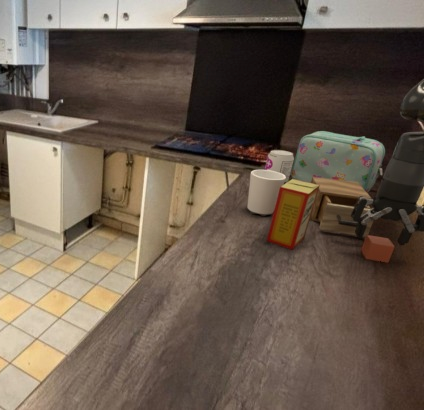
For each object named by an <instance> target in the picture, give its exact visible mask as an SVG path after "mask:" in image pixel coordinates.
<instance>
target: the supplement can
mask: <svg viewBox="0 0 424 410" xmlns="http://www.w3.org/2000/svg"><path fill="white" fill-rule="evenodd" d="M265 161H266V162H265V165H264V166H265V167H264V170H271V171H275V172H279V173H281V174H283V175H285V176H286V179H285V182H284V184H286V183H287V182H289V181H290V175H291V173H292V169H293V165H294V161H295V157H294V153H293V152H291V151H287V150H281V149H272V150H270V152H269V153H268V154H267V157H266V160H265Z"/></svg>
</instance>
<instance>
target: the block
mask: <svg viewBox="0 0 424 410" xmlns="http://www.w3.org/2000/svg"><path fill="white" fill-rule="evenodd" d="M364 238H365V239H364V241H363V244H362V246H361V249H360V252H361V253H362V255H363V256H364V258H365V260H368V261H369V260H370V261H375V262H380V261H381V262H380V263H387V264H389V262H390V260H391V257H392V255H393V253H394V250H395V248H396V247H395V245H394V244H393V242H392V241H391V240H390V238H387V237H382V236H376V235H369V234H368V235H367V236H366V237H364Z"/></svg>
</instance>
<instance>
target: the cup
mask: <svg viewBox="0 0 424 410" xmlns="http://www.w3.org/2000/svg"><path fill="white" fill-rule="evenodd" d="M285 179H286V176H285V175H283V174H281V173H279V172H275V171H271V170H265V169H253V170H252V171H250V177H249V186H248V187H249V188H248V197H247V210H248V211H249V212H250V214H252V215H257V214H258V215H260V216H261V217H266V216H270V215H272V216H273V214H274V210H275V206H276V202H277V198H278V194H279V190H280V187H281V186H283V185H284V182H285Z"/></svg>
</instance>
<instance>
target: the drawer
mask: <svg viewBox="0 0 424 410" xmlns="http://www.w3.org/2000/svg"><path fill="white" fill-rule="evenodd" d="M357 200H358V199H355V198H347V197H340V196H332V195H325V194H323V196H322V199H321V202H320V205H319V209H318V212H317V217H318V219H319V221H320V222H319V226H318V228H319V230H320V231H329V232H334V233H341V234H347V235H352V236H357V235H356V233H355V229H356V227H357V224H358V222H357V221H354V220H353V218H352V217H351V213H352V211H353V209H354V207H355V204H356V202H357ZM370 209H372V208H371V207H370V205H369V206H367V207H365V208H364V210H363V212H362V214H361V216H362V215H364V214H366V212H367V211H369V210H370ZM374 221H375V220H373V221H371V222H369V223H367V224H366V225H367V227H366V230H365V232H364V235H363V237H364V238H366V236H367V235H369V234H370V231H371V229H372V226H373V224H374Z"/></svg>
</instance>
